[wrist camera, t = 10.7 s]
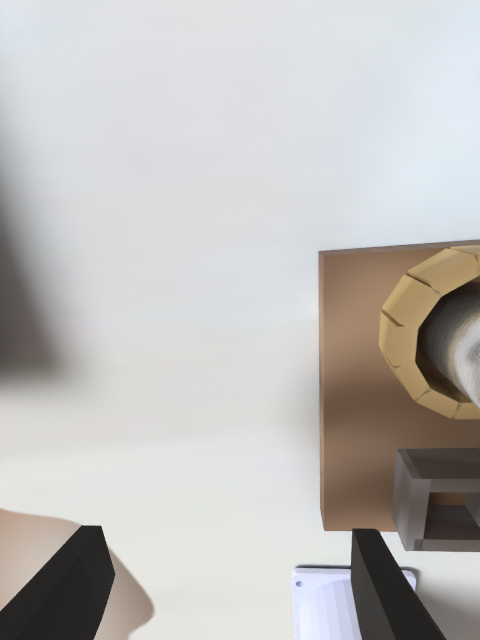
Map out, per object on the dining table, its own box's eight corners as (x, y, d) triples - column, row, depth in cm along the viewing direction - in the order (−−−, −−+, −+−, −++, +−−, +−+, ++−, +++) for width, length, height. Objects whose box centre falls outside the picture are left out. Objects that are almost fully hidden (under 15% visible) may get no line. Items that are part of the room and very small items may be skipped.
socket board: (527, 509, 20) (579, 571, 16) (320, 508, 21) (330, 565, 18) (598, 231, 14) (696, 238, 11) (318, 251, 16) (331, 263, 12)
